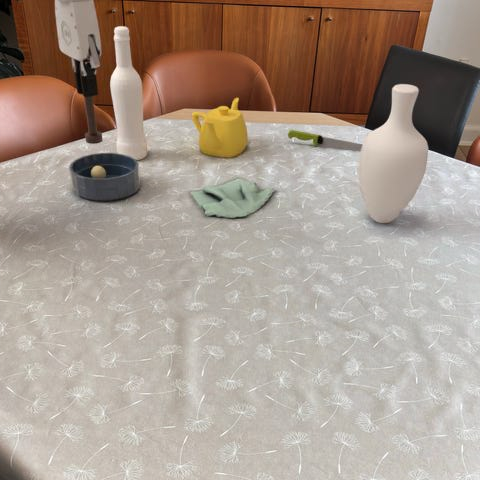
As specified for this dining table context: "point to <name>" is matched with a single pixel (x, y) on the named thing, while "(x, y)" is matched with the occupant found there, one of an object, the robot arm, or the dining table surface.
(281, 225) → the dining table surface
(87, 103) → the muddler
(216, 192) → the cloth
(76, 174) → the bowl
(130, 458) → the dining table surface
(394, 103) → the vase
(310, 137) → the kitchen knife
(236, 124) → the teapot
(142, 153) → the bottle
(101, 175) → the ball
